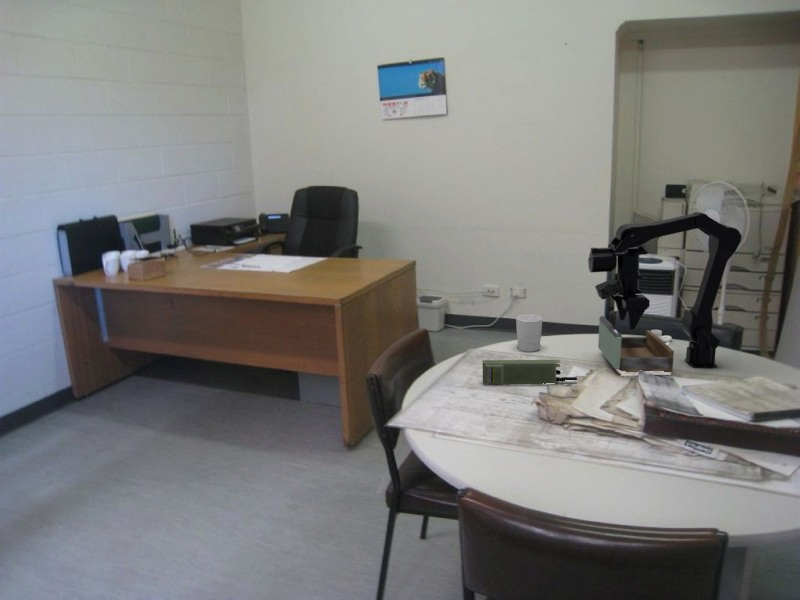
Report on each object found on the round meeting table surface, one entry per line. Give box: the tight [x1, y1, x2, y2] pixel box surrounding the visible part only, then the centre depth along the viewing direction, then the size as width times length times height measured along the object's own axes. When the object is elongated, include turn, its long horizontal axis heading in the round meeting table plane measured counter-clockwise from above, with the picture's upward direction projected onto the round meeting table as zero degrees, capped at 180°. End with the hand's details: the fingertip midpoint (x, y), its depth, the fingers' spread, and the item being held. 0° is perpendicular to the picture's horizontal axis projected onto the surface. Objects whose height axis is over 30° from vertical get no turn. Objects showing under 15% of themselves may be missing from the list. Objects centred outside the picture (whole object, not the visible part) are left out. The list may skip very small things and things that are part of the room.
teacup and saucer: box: [650, 329, 673, 346], centre depth 196 cm, size 9×8×4 cm
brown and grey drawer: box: [603, 329, 675, 373], centre depth 178 cm, size 14×19×7 cm
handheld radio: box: [482, 359, 578, 385], centre depth 167 cm, size 7×3×25 cm
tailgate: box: [597, 315, 623, 369], centre depth 177 cm, size 2×18×10 cm, turn 177°
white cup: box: [515, 314, 543, 353], centre depth 193 cm, size 8×8×10 cm
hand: (626, 324), depth 176 cm, fingers open, 9 cm apart
